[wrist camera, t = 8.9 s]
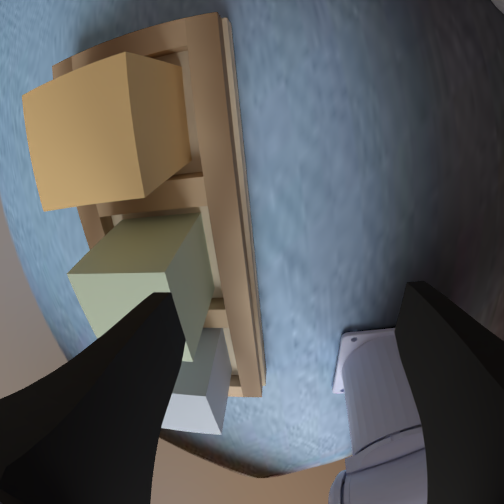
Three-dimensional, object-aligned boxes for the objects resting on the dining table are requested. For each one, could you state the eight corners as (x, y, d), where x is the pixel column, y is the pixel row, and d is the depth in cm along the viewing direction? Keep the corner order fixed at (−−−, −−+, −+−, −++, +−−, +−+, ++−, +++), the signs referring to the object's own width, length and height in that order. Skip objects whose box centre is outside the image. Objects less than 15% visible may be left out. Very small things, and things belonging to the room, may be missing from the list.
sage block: (201, 212, 16) (164, 272, 11) (214, 288, 18) (192, 361, 13) (122, 219, 16) (66, 273, 11) (143, 288, 19) (105, 353, 14)
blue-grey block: (221, 323, 20) (205, 396, 14) (232, 369, 22) (221, 434, 17) (155, 322, 20) (125, 387, 15) (172, 366, 23) (153, 426, 17)
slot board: (231, 24, 12) (222, 10, 10) (266, 371, 24) (264, 397, 22) (75, 67, 13) (49, 67, 11) (158, 367, 25) (150, 389, 23)
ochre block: (191, 160, 14) (144, 197, 9) (110, 171, 15) (43, 211, 10) (181, 66, 12) (125, 51, 7) (97, 88, 13) (22, 95, 7)
